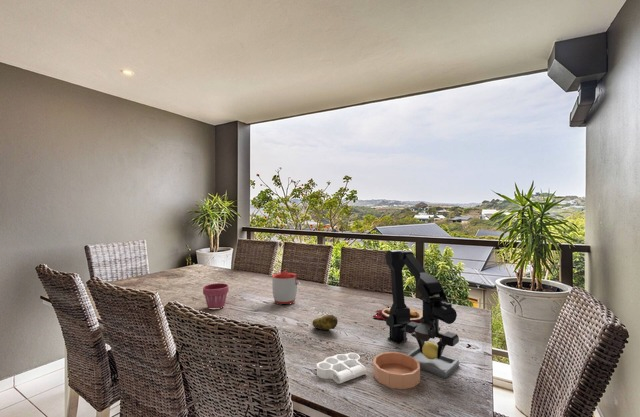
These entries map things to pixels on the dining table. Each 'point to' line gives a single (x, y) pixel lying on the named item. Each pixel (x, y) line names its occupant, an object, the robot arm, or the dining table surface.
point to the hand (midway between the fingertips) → (430, 355)
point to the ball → (430, 350)
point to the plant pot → (215, 294)
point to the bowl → (396, 370)
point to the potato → (325, 322)
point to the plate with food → (414, 314)
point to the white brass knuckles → (341, 367)
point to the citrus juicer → (284, 287)
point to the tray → (435, 363)
